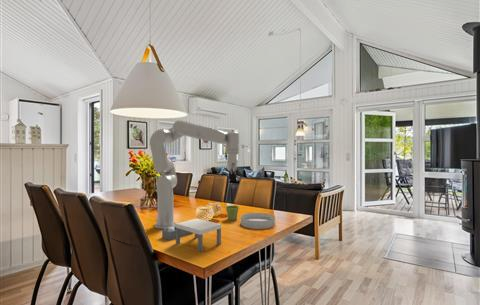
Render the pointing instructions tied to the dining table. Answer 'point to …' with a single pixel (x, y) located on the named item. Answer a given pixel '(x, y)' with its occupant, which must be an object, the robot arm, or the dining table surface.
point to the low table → (198, 230)
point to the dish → (257, 220)
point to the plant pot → (232, 212)
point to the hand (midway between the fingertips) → (232, 179)
